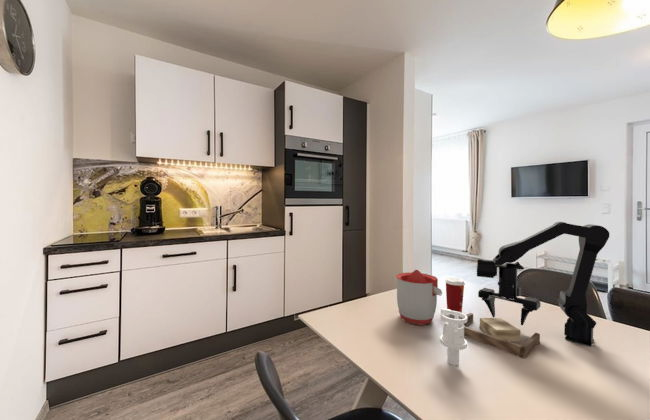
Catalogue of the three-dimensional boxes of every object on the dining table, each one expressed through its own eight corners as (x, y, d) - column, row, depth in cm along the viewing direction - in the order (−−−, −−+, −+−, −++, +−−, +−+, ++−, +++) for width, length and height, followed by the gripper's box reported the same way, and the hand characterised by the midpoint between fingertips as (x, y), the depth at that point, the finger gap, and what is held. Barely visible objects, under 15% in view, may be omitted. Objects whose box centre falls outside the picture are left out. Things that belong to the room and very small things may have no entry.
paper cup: (468, 316, 113) (468, 282, 112) (449, 315, 113) (449, 282, 112) (459, 308, 120) (459, 277, 120) (441, 308, 121) (441, 277, 120)
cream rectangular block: (520, 342, 92) (520, 330, 92) (496, 341, 92) (496, 330, 92) (501, 328, 102) (501, 318, 102) (479, 328, 102) (479, 317, 102)
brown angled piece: (539, 342, 91) (539, 333, 91) (524, 358, 82) (524, 348, 81) (470, 320, 109) (470, 312, 108) (450, 331, 99) (451, 322, 99)
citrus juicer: (435, 333, 97) (436, 277, 97) (389, 320, 108) (390, 270, 107) (446, 319, 110) (447, 269, 109) (404, 308, 120) (404, 263, 120)
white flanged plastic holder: (443, 352, 84) (444, 304, 84) (469, 361, 80) (470, 310, 80) (436, 363, 79) (437, 311, 79) (463, 372, 75) (464, 318, 74)
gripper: (544, 281, 100) (544, 323, 100) (488, 271, 115) (488, 308, 115) (536, 286, 93) (535, 332, 93) (477, 276, 108) (477, 315, 108)
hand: (507, 321), depth 103 cm, fingers open, 9 cm apart
